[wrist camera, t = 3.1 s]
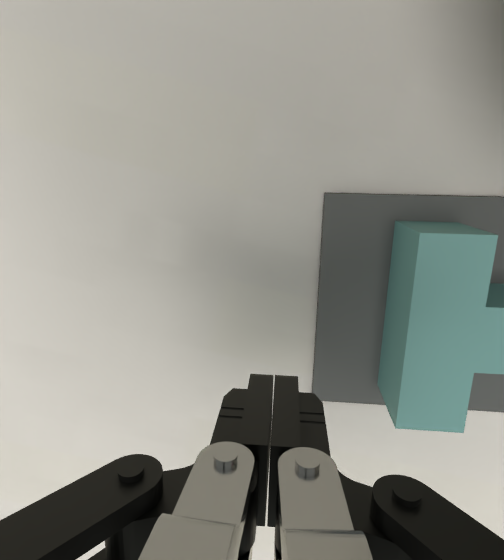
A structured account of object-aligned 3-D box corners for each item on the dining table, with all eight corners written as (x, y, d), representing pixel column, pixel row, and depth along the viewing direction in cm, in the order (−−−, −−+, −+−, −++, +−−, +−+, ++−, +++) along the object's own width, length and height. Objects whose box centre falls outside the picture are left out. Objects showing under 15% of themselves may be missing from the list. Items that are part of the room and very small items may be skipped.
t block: (395, 220, 20) (420, 233, 16) (588, 226, 20) (661, 240, 16) (377, 384, 23) (395, 428, 19) (549, 394, 22) (604, 442, 18)
